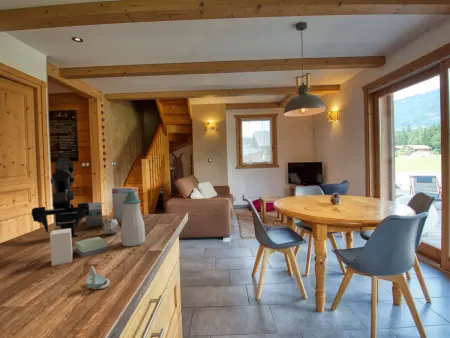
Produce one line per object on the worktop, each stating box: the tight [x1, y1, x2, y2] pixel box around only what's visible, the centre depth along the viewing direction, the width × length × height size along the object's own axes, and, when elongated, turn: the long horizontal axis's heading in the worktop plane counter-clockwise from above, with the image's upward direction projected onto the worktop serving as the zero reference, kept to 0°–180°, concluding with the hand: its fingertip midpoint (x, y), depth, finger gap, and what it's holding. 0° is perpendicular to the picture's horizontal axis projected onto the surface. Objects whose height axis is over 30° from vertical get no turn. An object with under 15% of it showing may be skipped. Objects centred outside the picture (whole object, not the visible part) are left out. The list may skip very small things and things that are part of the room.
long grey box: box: [85, 201, 104, 229], centre depth 143 cm, size 25×8×11 cm, turn 27°
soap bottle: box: [120, 191, 146, 247], centre depth 108 cm, size 10×10×23 cm
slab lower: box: [74, 246, 109, 258], centre depth 100 cm, size 9×9×2 cm
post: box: [49, 228, 73, 267], centre depth 90 cm, size 6×6×11 cm
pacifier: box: [86, 265, 111, 290], centre depth 72 cm, size 7×6×6 cm
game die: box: [100, 218, 121, 237], centre depth 122 cm, size 9×8×10 cm
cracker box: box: [111, 186, 139, 225], centre depth 143 cm, size 14×6×21 cm, turn 71°
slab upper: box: [74, 236, 109, 253], centre depth 100 cm, size 9×9×2 cm
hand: (61, 229), depth 93 cm, fingers open, 9 cm apart
